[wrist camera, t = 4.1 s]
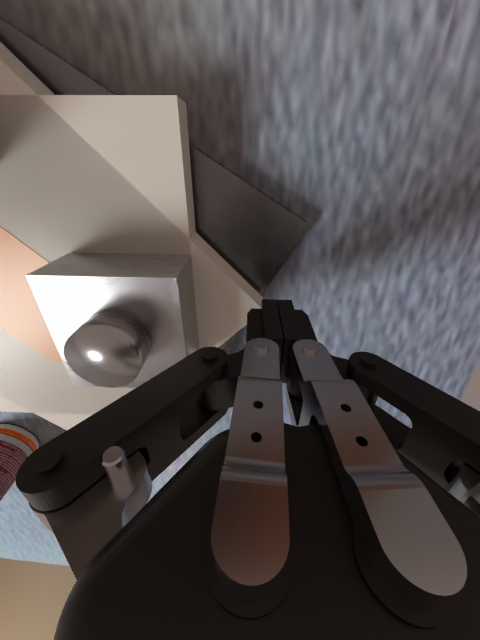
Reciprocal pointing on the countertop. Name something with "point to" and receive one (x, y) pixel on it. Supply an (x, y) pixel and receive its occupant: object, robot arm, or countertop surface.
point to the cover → (118, 314)
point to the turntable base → (207, 182)
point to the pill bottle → (13, 453)
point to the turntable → (93, 223)
